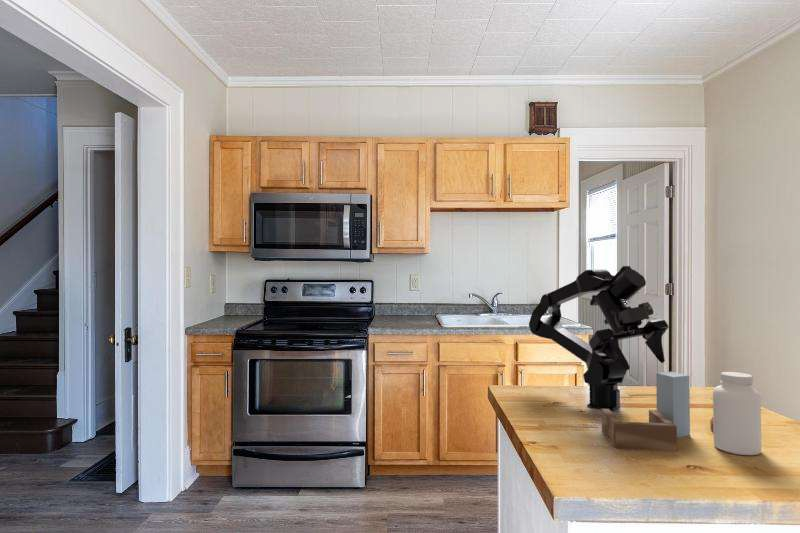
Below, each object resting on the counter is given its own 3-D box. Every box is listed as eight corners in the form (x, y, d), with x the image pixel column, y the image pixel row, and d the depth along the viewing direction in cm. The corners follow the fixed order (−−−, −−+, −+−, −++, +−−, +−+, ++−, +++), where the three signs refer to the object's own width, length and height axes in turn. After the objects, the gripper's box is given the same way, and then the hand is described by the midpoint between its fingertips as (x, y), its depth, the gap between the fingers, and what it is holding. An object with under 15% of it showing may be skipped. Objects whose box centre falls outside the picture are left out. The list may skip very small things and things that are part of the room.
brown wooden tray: (601, 431, 110) (601, 408, 110) (656, 432, 109) (656, 410, 109) (616, 448, 100) (616, 423, 100) (677, 450, 98) (676, 425, 98)
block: (656, 431, 110) (656, 372, 110) (672, 429, 111) (672, 371, 111) (673, 437, 106) (673, 377, 106) (690, 435, 107) (689, 375, 107)
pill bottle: (753, 444, 101) (752, 371, 101) (767, 458, 94) (767, 379, 94) (708, 440, 104) (708, 368, 104) (719, 454, 96) (718, 377, 96)
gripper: (592, 299, 118) (624, 357, 109) (662, 286, 121) (698, 342, 112) (577, 323, 127) (605, 378, 118) (642, 311, 130) (674, 364, 121)
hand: (646, 365), depth 117 cm, fingers open, 9 cm apart
